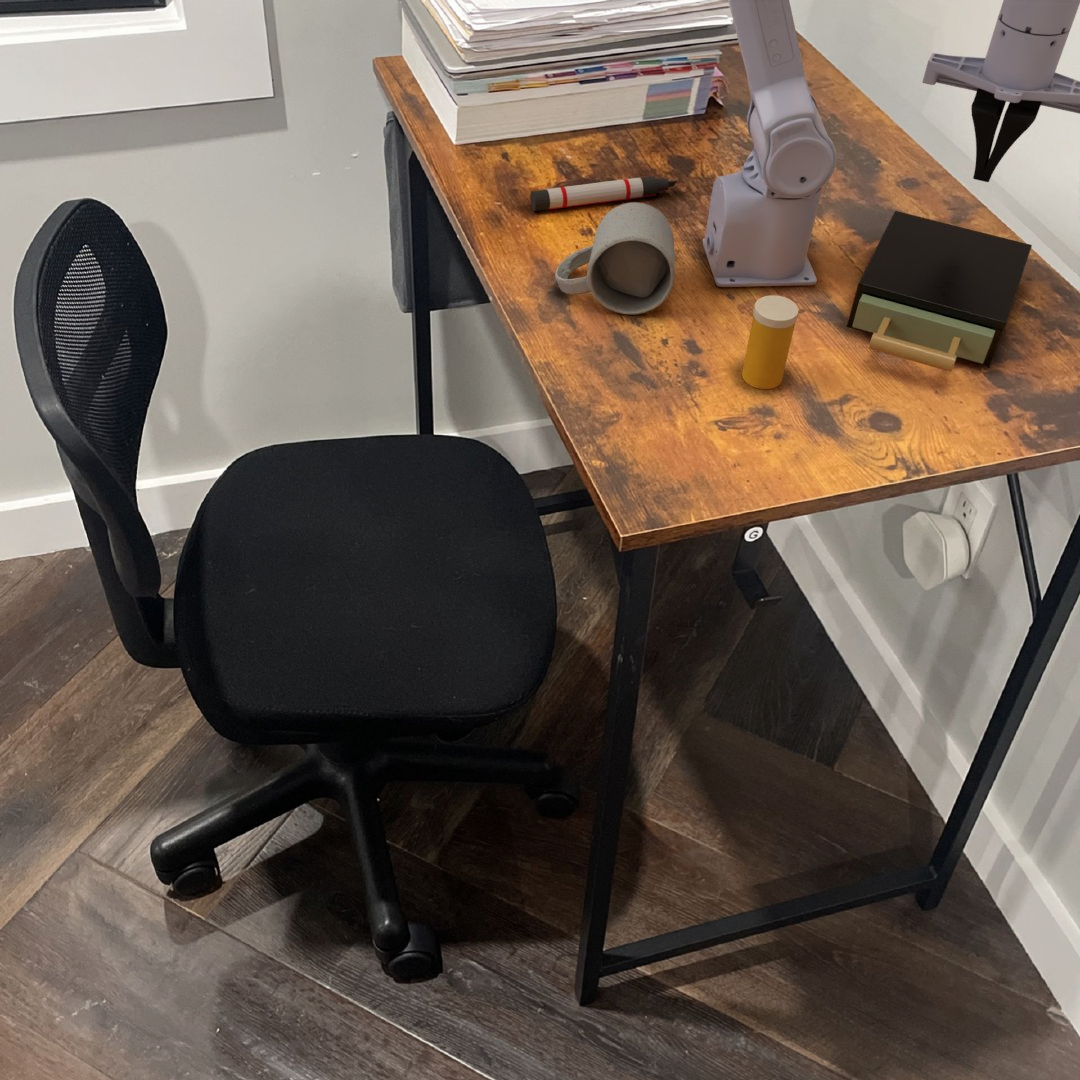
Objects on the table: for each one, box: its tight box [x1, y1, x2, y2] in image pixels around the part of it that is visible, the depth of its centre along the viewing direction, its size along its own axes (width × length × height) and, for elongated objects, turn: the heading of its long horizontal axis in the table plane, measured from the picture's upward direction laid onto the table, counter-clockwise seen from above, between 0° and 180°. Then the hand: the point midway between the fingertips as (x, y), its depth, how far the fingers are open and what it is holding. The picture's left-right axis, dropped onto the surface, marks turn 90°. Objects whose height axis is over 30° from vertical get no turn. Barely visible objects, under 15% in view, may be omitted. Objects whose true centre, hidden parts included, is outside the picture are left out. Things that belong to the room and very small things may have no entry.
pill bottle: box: [741, 294, 799, 390], centre depth 94 cm, size 4×4×7 cm
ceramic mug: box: [554, 201, 676, 316], centre depth 102 cm, size 11×8×8 cm
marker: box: [529, 175, 678, 212], centre depth 115 cm, size 15×2×2 cm, turn 106°
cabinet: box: [846, 210, 1033, 367], centre depth 103 cm, size 14×13×5 cm
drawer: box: [853, 294, 995, 373], centre depth 100 cm, size 17×11×3 cm
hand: (982, 175), depth 102 cm, fingers closed
